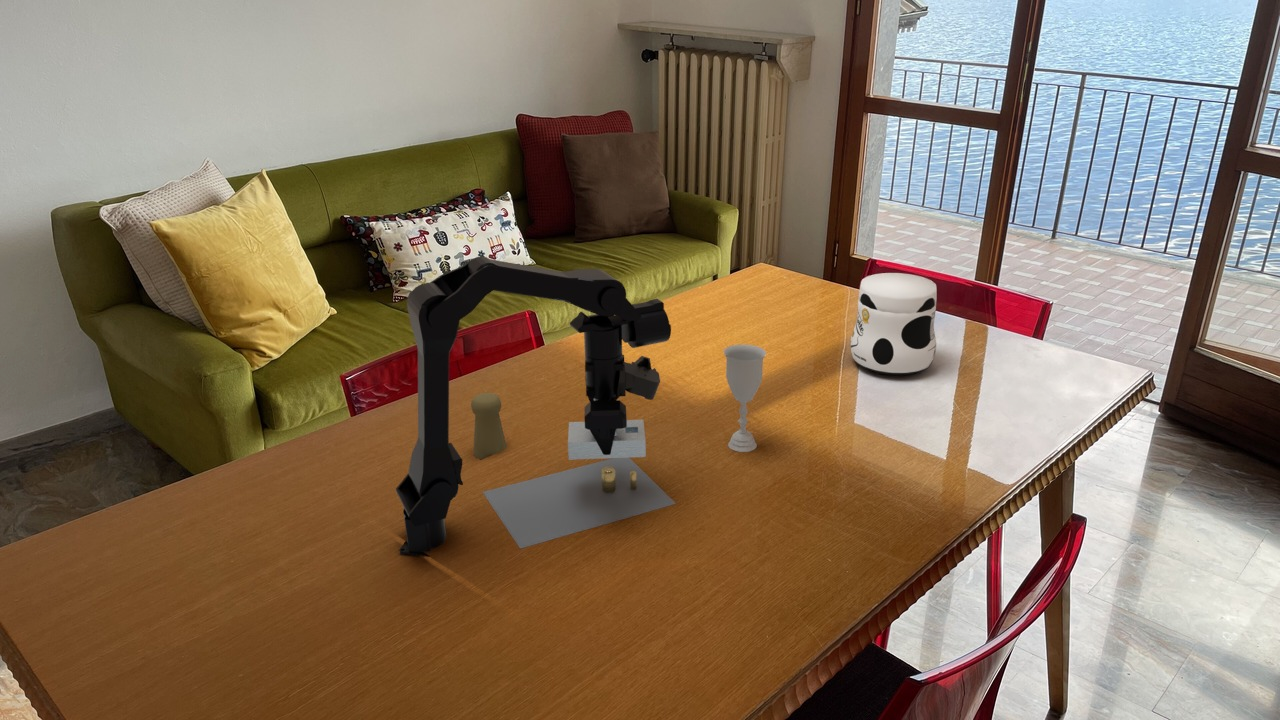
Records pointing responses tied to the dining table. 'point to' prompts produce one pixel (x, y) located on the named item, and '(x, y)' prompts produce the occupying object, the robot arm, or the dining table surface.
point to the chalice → (743, 387)
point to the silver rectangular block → (624, 445)
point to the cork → (487, 425)
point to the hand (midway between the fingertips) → (606, 443)
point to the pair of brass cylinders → (609, 480)
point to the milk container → (895, 324)
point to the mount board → (573, 501)
